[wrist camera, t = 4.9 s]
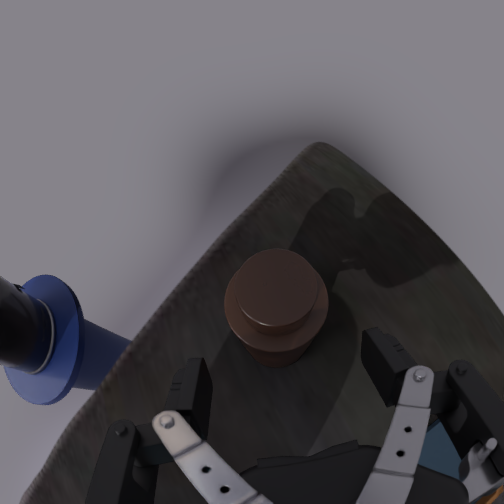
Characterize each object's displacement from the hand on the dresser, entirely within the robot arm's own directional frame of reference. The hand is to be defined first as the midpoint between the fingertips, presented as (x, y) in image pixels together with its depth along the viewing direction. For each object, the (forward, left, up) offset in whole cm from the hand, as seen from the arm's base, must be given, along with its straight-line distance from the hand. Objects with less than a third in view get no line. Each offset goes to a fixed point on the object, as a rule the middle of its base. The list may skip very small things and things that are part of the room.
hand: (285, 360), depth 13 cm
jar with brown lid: (+1, +3, -9) cm, 10 cm away
